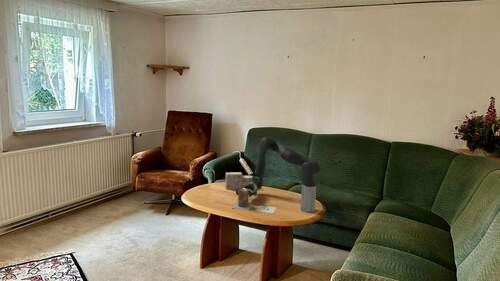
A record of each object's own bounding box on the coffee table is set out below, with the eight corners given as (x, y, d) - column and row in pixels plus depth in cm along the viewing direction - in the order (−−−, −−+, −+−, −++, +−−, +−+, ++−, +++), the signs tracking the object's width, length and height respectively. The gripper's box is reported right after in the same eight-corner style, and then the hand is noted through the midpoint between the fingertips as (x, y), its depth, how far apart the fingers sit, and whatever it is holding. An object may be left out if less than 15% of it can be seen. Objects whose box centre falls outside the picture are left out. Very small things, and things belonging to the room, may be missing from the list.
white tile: (276, 208, 250) (276, 207, 249) (272, 214, 238) (272, 213, 238) (259, 206, 253) (259, 205, 253) (254, 211, 241) (255, 210, 241)
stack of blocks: (251, 186, 300) (251, 171, 298) (252, 188, 294) (253, 173, 292) (225, 187, 295) (225, 172, 293) (226, 189, 289) (226, 174, 287)
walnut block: (248, 205, 252) (248, 189, 250) (245, 207, 246) (246, 191, 245) (240, 203, 253) (241, 188, 251) (238, 206, 248) (238, 190, 246)
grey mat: (254, 205, 254) (254, 204, 254) (249, 210, 242) (249, 209, 242) (237, 203, 257) (237, 202, 257) (231, 208, 246) (231, 207, 246)
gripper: (240, 182, 265) (233, 188, 250) (260, 184, 261) (254, 190, 246) (240, 192, 266) (233, 198, 251) (259, 194, 263) (253, 201, 247)
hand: (243, 194), depth 249 cm, fingers open, 8 cm apart
